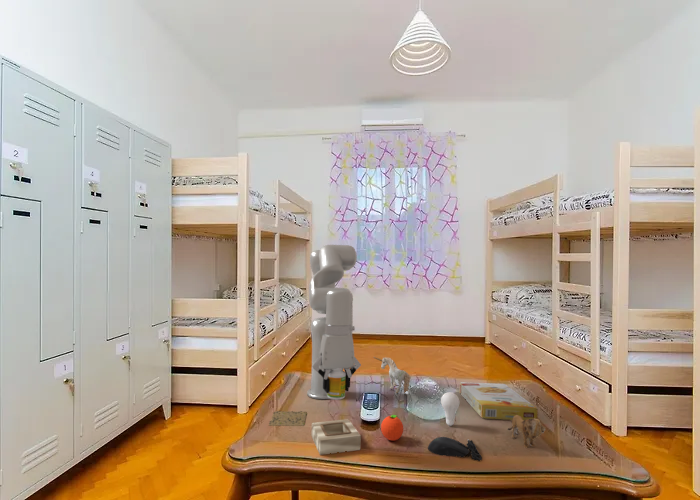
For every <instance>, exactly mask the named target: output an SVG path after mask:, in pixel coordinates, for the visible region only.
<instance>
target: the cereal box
mask: <svg viewBox="0 0 700 500" xmlns="http://www.w3.org/2000/svg"><path fill="white" fill-rule="evenodd" d="M460 393H461V394H460ZM459 394H460V395H461V396H462V397H463V398H464V400H465V399H466V400H465V401H466V402H467V403H468V404H469V405H470V407H471V408H472V409H473V410H474V411H475V412H476V413H477V414H478V415H479V416H480V417H481V418H482V419H485V420H486V419H487V420H489V419H491V420H492V419H493V420H507V421H512V420H513V417H514V416H516V415H518V416H521V417H522V419H523V420H529V419H534V418H535V419H539V418H538V414H539V412H538V411H539V410H538V409H539V408H538V407H536V406H535V405H534V404H533V403H531V402H530V401H529V400H527V399H526V398H524V397H523V395H522V396H521V395H520V394H519V393H518V392H517V391H515V390H514V389H512V388H511V387H510V386H508V385H507V384H506V383H491V382H490V383H489V382H486V383H485V382H464V381H463V382H462V381H460V382H459Z"/></svg>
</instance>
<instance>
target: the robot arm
mask: <svg viewBox="0 0 700 500" xmlns="http://www.w3.org/2000/svg"><path fill="white" fill-rule="evenodd" d="M309 255H310V256H309V264H310V269H311V272H312V275H313V276H312V277H311V279H310V282H309V284H308V302H309V307H310V308H311V310H314V311H315V312H316V313H318V314H321V315H325V317H317V318H314V319H313V320H312V321H311V323H310V332H311V333H310V334H311V347H312V348H311V382H310V383H311V385H310V386H311V387H310V388H309V389H308V390H307V391H306V392H307V393H306V395H307V396H308V397H309V398H311V399H315V400H328V399H329V400H331V399H330V398H328V396H327V393H329V379H328V376H329V373H330V371H331V369H337V368H342V369H343V371H344V372H345V373H346V384H345V392H349V388H351V378H352V376H353V375H354V374H355V373H356V372H357V370H359V368H360V367H361V366H362V364H361V362H360V361H359V360H358V359H357V358H356V356H355V346H354V338H353V331H355V329H356V327H355V325H354V326H353V324H354V323H353V322H354V321H353V319H354V318H353V311H354V310H353V301H354V298H353V297H354V296H353V293H352V292H351V291H350V289H349V288H344V287H336V283H338V282H340V280H342V278H343V276H344V274H345V271H350V270H352V268H354V267H355V266H356V264H357V259H358V258H357V255H358V254H357V251H356V249H355V248H354V247H353V246H352V245H350V244H327V245H323V246H322V247H321V248H320V249H316V250H313V251H312V252H311V253H310V254H309Z"/></svg>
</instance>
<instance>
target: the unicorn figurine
mask: <svg viewBox="0 0 700 500" xmlns="http://www.w3.org/2000/svg"><path fill="white" fill-rule="evenodd" d="M373 358H374V359H376V360H378V361H380V362H381V367H380V368H381V369H382V370H384V369H385V368H386V366H387V365H388V367H389V369H388V370H389V371H388V376H389V379H390V380H389V381H390V387H389V388H392V389H393V390H394V389H395V388H394V386H397V382H398V386H397V388H396V390H395V394H396V393H398V392H399V393H400V391H401V390H400V389H401V388H402V386H403V394H404V393H405V392H406V391H408V390H409V387H410V382H411V377H410V374H409V373H408V372H406V371H405V370H403V369H399V368H398V366H397V365H396V362H395V361H394V360H393V359H392V358H391V357H387V356H385V357H382V359H381V358H378V357H375V356H373ZM395 380H397V382H396V381H395ZM402 381H403V385H402Z"/></svg>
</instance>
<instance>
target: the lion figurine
mask: <svg viewBox="0 0 700 500" xmlns="http://www.w3.org/2000/svg"><path fill="white" fill-rule="evenodd" d="M511 423H512V425H511V427H509V428H507V431H512V433H511V438H512V439H517V437H516V435H520V434H522V438H523V448H526V449H528V448H529V445H530V446H531V447H534V448H535V444H534V443H533V441H534V440H535V439H537V438H538V437H540V436H541V435H542V434H544V433H545V431H546V429H547V428H546V426H544V425H543V424H542V423H541V420H540V419H539V418H538V419H535V418H534V419H529V420H523V419H522V417H521V416H518V415H516V416H514V417H513V420H511ZM528 439H529V445H528Z"/></svg>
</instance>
